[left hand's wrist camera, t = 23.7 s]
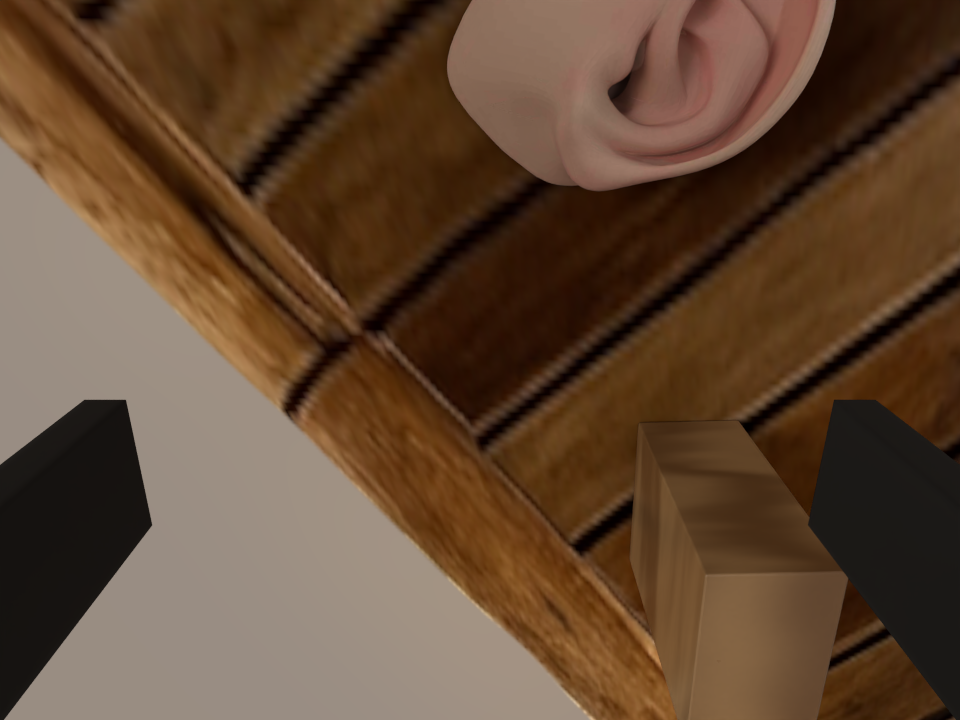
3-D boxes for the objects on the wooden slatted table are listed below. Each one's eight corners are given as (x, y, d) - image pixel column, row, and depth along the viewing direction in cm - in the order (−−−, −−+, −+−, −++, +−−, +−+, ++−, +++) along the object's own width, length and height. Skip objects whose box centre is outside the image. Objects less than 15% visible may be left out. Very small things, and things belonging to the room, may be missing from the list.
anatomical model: (415, 146, 26) (520, -215, 21) (423, 137, 29) (515, -172, 25) (732, 258, 27) (888, -56, 23) (702, 237, 31) (833, -38, 27)
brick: (629, 559, 38) (685, 746, 27) (638, 422, 35) (705, 575, 24) (720, 557, 38) (812, 745, 27) (738, 419, 35) (850, 572, 24)
